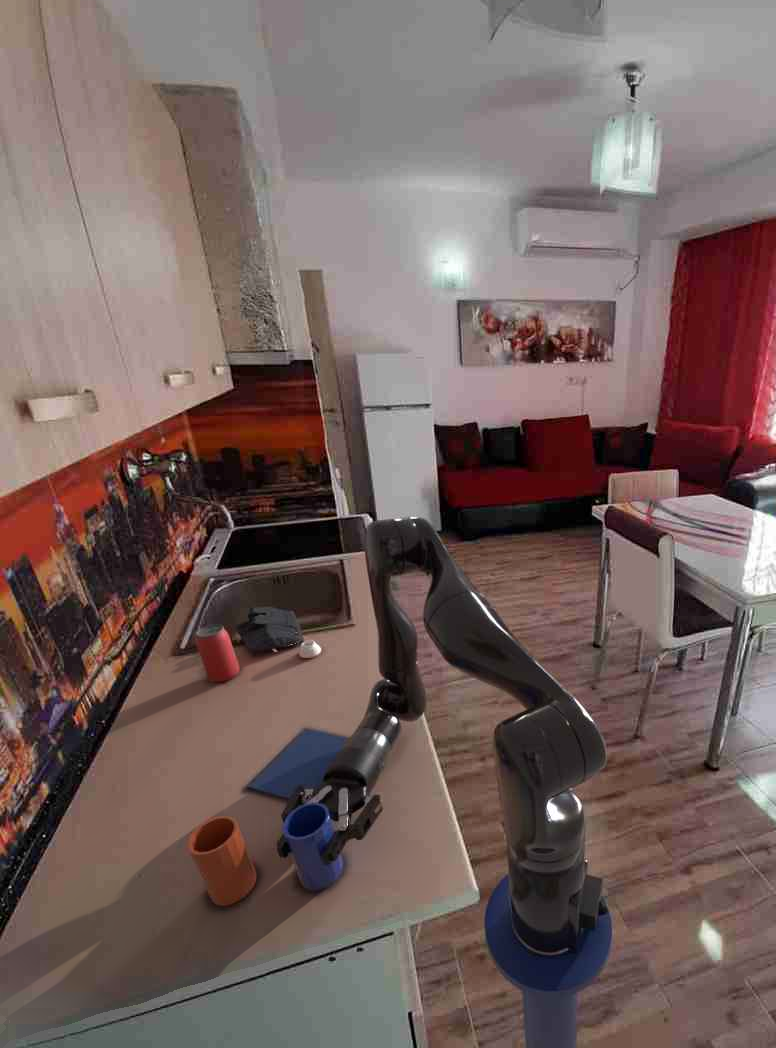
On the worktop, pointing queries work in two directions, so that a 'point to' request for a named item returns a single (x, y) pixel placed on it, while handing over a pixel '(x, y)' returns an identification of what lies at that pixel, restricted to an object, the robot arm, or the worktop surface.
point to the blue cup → (311, 845)
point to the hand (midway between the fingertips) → (303, 857)
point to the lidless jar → (309, 649)
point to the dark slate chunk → (269, 629)
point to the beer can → (217, 653)
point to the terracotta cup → (222, 860)
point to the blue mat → (300, 764)
